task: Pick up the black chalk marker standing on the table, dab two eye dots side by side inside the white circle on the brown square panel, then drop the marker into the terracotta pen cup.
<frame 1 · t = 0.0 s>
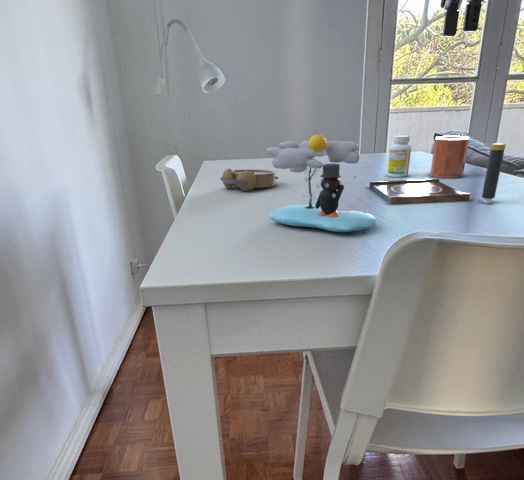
hand: (458, 34, 81), 29 cm above the table, tool pointing down, fingers open, 8 cm apart
brown square panel: (415, 193, 105), on the table
penguin figurine: (320, 226, 85), on the table
pen cup: (446, 175, 123), on the table
supplement bottle: (397, 176, 125), on the table
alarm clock: (248, 188, 118), on the table
marker: (487, 202, 96), on the table
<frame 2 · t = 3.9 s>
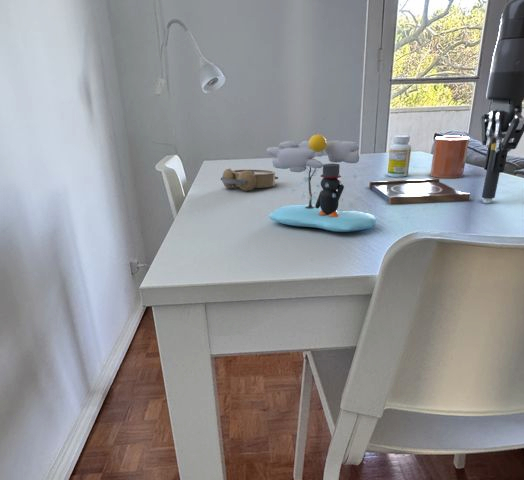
hand: (493, 170, 93), 6 cm above the table, tool pointing down, fingers closed on marker, 2 cm apart
marker: (487, 202, 96), on the table, touching gripper
everything else where it was.
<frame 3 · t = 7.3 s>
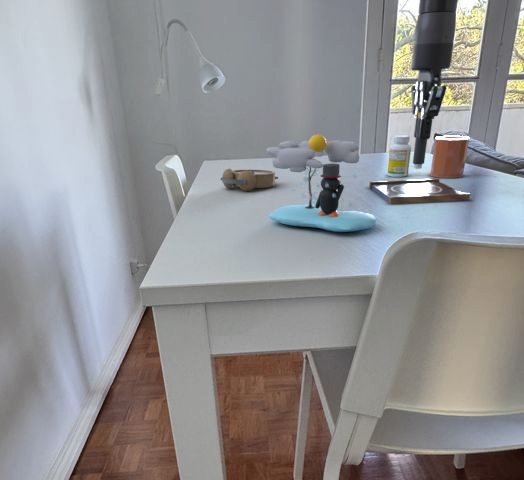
hand: (421, 138, 101), 11 cm above the table, tool pointing down, fingers closed on marker, 2 cm apart
marker: (417, 168, 104), point 5 cm above the table, touching gripper
everything else where it was.
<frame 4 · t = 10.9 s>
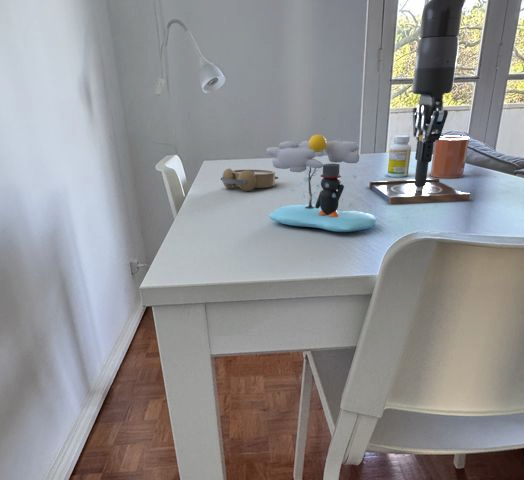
hand: (422, 160, 100), 7 cm above the table, tool pointing down, fingers closed on marker, 2 cm apart
marker: (419, 190, 103), point 1 cm above the table, touching gripper, brown square panel
everything else where it was.
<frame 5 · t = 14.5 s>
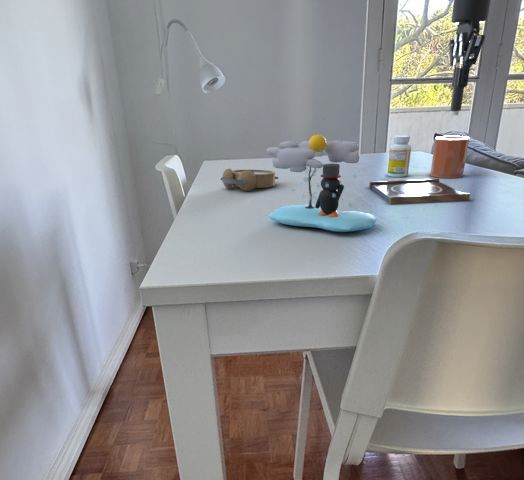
hand: (459, 86, 112), 20 cm above the table, tool pointing down, fingers closed on marker, 2 cm apart
marker: (454, 115, 115), point 14 cm above the table, touching gripper
everything else where it was.
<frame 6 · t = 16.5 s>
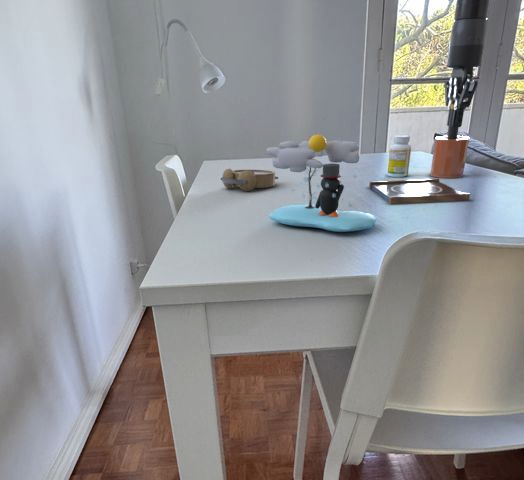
hand: (453, 126, 117), 12 cm above the table, tool pointing down, fingers closed on marker, 2 cm apart
marker: (449, 152, 120), point 6 cm above the table, touching gripper
everything else where it was.
when the fingers open (8 cm above the table, at t = 18.3 s): marker stays where it is, resting on pen cup.
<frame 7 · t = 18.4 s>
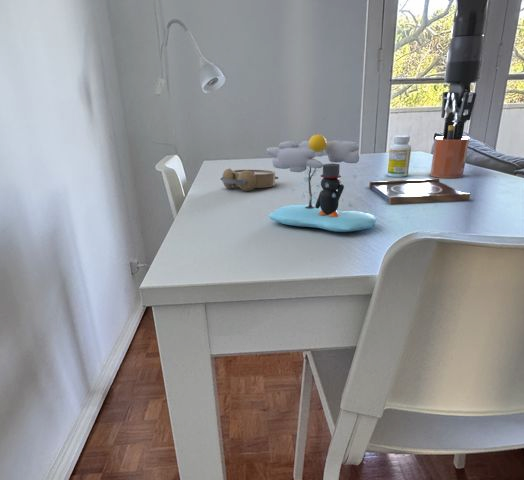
hand: (452, 138, 118), 9 cm above the table, tool pointing down, fingers open, 5 cm apart
marker: (446, 172, 122), point 1 cm above the table, touching pen cup
everything else where it was.
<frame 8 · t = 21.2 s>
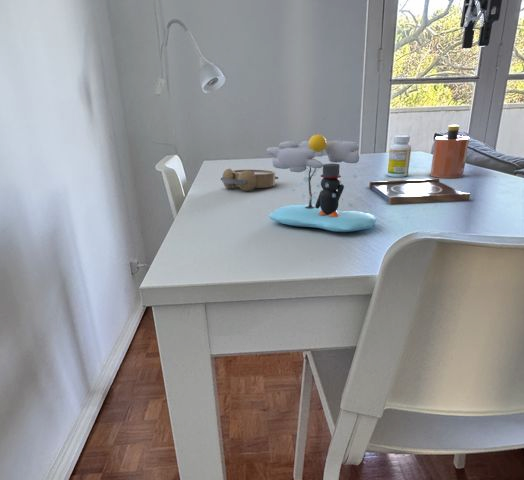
hand: (474, 47, 109), 28 cm above the table, tool pointing down, fingers open, 8 cm apart
nothing on the table moved.
at the end: marker 0.1 cm off-centre in the pen cup, point 0.8 cm above the pen cup's base; marker moved 31.2 cm from its start; the gripper is holding nothing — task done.
